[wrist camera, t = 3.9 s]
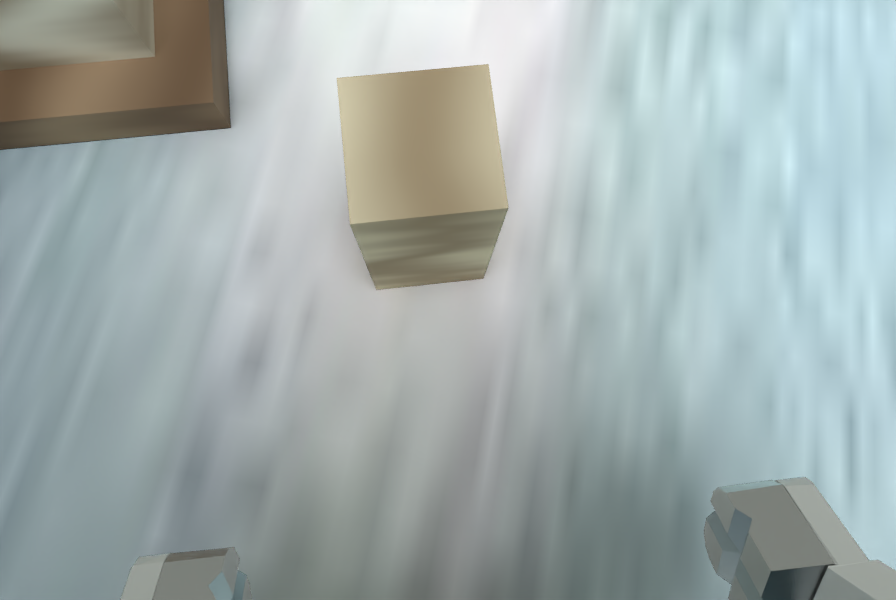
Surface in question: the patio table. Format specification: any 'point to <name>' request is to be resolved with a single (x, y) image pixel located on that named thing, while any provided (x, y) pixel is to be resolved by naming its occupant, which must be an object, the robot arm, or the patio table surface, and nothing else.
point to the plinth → (110, 69)
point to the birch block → (423, 173)
